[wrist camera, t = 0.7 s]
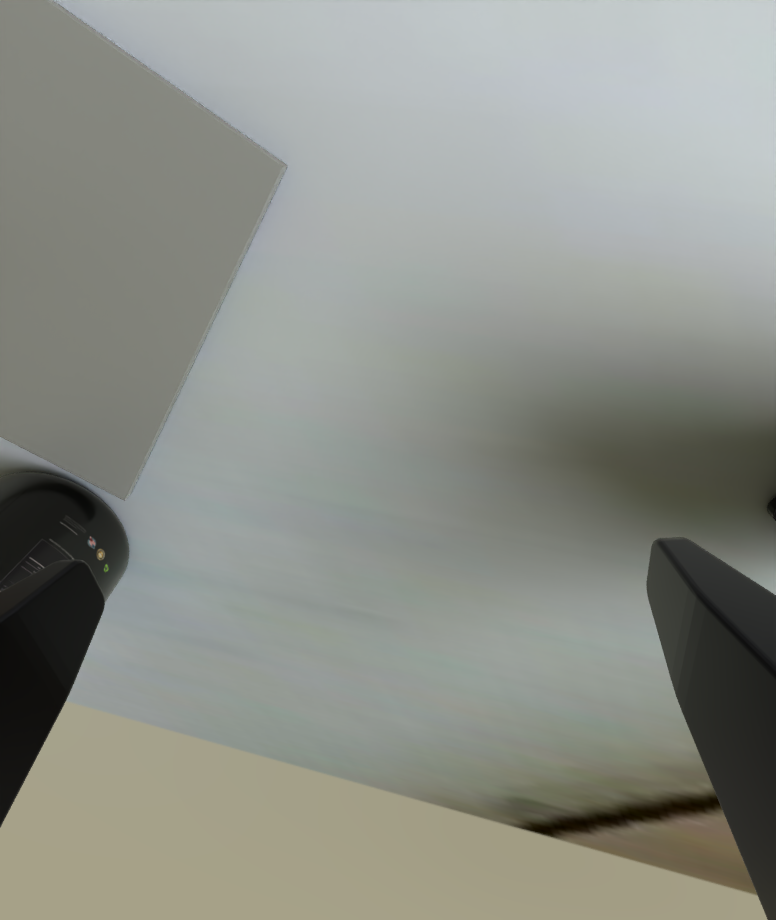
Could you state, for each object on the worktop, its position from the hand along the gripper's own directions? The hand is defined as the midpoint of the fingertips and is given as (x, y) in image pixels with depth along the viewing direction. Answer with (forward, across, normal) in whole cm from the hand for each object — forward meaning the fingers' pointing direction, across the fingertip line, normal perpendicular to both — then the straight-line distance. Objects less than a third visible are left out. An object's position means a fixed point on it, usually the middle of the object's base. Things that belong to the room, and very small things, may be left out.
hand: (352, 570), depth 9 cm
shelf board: (+12, +12, -4) cm, 17 cm away
